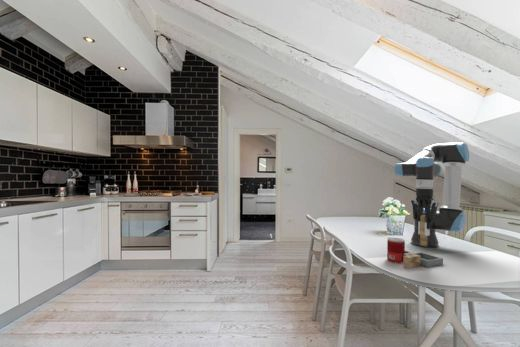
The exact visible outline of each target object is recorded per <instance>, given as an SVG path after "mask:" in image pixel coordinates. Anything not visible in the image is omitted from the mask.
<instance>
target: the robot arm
mask: <svg viewBox="0 0 520 347" xmlns="http://www.w3.org/2000/svg"><path fill="white" fill-rule="evenodd" d="M469 161H470V150H469V147H468V145H467V144H466V142H462V141H461V142H459V141H458V142H456V141H455V142H444V143H443V142H442V143H434V144H431V145H429V146H426V147H424V148H422V149H421V150H419V151H418V153H417V154H415V155H414V156H413V157H411V158H410V159H408V160H407V161H405V162H397V163H395V164H394V174H395V175H396V176H398V177H416V178H415V179H416V180H415V182H416V183H415V187H416V189H415V195H416V197H415V199H411V201H410V202H411V204H412V205H411V206H412V215H413V216H412V217H413V220H414V222H413V223H414V224H413V225H414V226H413V230H414V231H413V234H412V236H411V239H410V244H412V245H415V246H419V247H422V246H421V245H420V215H426V222H425V236H427V246H423V248H424V247H425V248H438V247H439V246H440V245H439V239H438V237H437V235H436V230H438V231H444V232H451V233H461V232H462V231H463V230H464V228H465V226H466V222H467V215H466V213H465V212H463V209H462V208H461V206H460V205H461V203H460V202H461V189H462V187H461V186H462V174H463V173H462V172H463V167H465V165H466V162H469ZM439 162H440V163H441V164H442V165H443V167H444V177H443V178H444V179H443V191H442V192H443V194H442V205H441V206H440V207H439V205H440V204H439V202H437V201H434V198H433V196H434V189H433V188H434V178H435V177H437V176H440V175H441V174H442V172H443V167H442V165H441V164H439ZM438 207H439V210H437V209H438Z"/></svg>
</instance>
